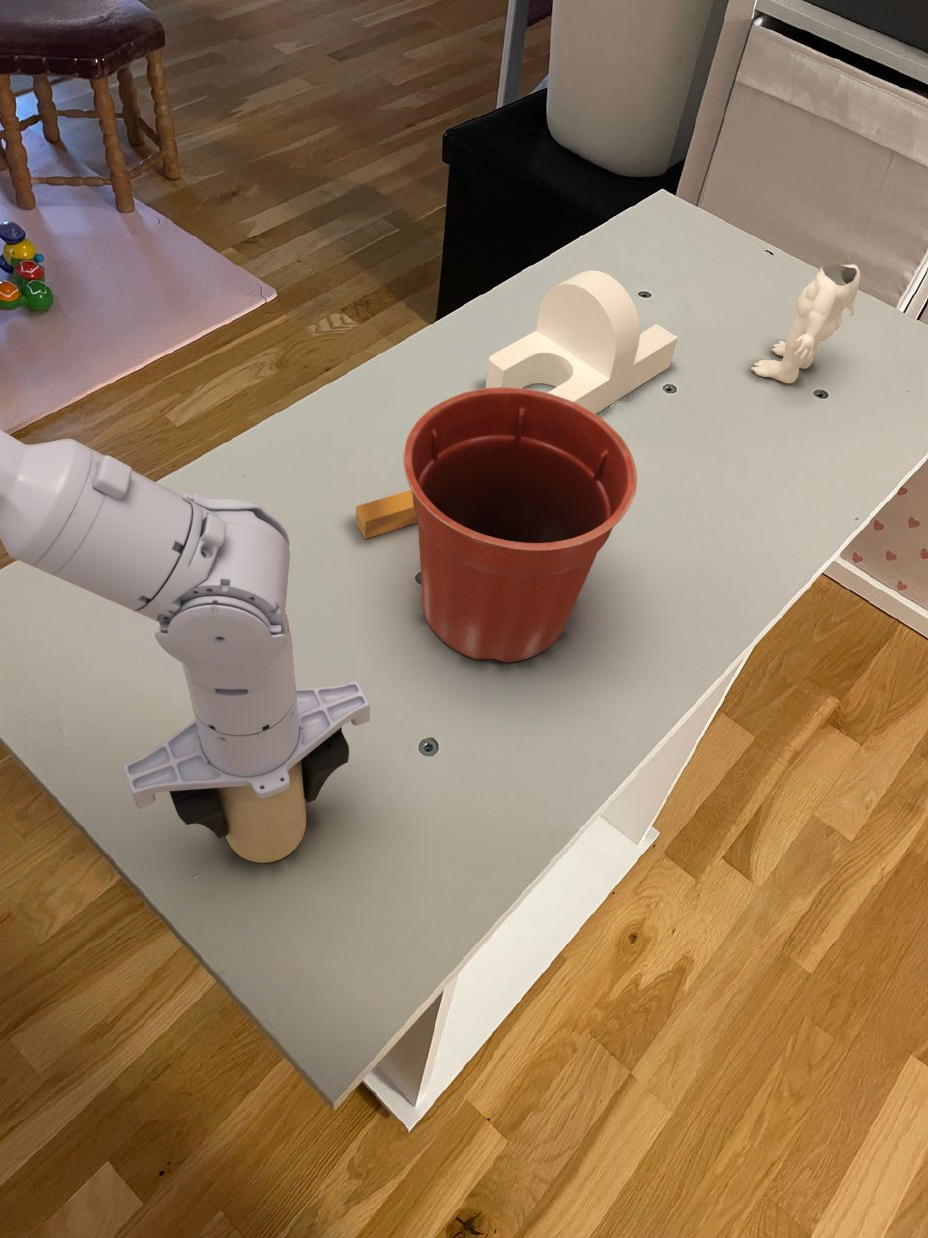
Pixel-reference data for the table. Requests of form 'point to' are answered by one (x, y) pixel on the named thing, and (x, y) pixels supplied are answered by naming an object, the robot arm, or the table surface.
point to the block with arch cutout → (585, 345)
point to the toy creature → (813, 321)
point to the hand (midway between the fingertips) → (262, 806)
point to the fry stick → (386, 514)
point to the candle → (265, 819)
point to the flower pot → (511, 514)
